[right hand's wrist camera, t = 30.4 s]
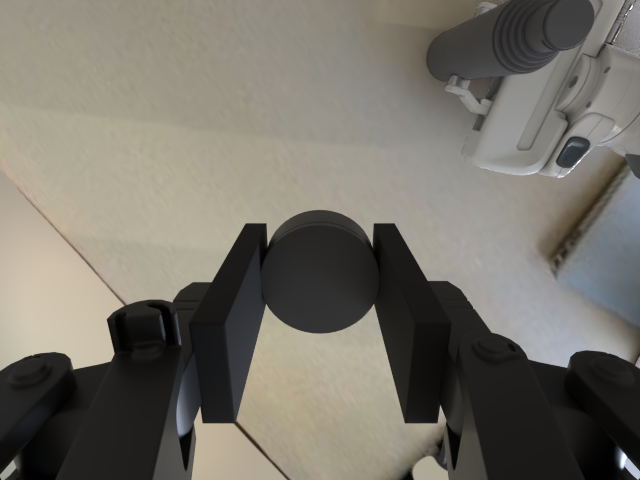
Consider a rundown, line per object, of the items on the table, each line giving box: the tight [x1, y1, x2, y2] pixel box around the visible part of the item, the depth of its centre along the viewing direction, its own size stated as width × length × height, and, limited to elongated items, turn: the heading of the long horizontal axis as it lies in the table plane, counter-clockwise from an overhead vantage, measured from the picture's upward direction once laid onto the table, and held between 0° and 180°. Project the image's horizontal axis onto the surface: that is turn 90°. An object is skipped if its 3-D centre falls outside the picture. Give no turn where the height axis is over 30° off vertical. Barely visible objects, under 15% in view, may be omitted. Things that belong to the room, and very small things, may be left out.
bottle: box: [427, 0, 595, 82], centre depth 33 cm, size 5×5×22 cm
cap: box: [260, 210, 380, 333], centre depth 13 cm, size 4×4×2 cm
